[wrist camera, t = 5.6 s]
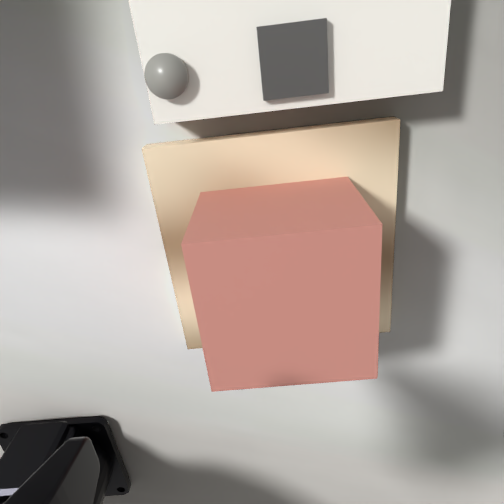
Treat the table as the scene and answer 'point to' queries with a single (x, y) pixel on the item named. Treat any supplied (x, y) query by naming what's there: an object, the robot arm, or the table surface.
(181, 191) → the pad
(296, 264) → the pink block
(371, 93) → the panel
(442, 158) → the table surface
